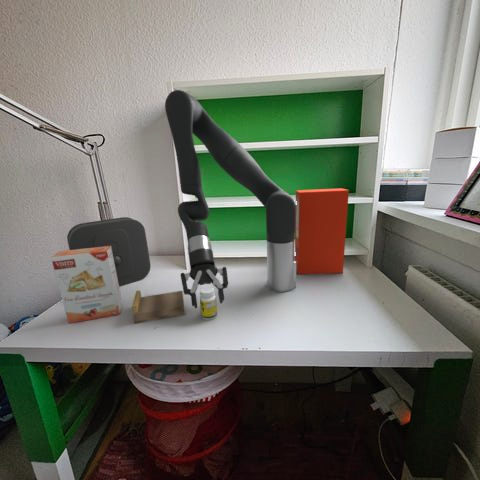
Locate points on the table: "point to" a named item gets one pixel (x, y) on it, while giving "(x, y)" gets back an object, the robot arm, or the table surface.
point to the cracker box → (88, 283)
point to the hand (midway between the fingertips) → (209, 304)
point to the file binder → (320, 230)
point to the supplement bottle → (208, 303)
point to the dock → (157, 306)
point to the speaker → (116, 245)
